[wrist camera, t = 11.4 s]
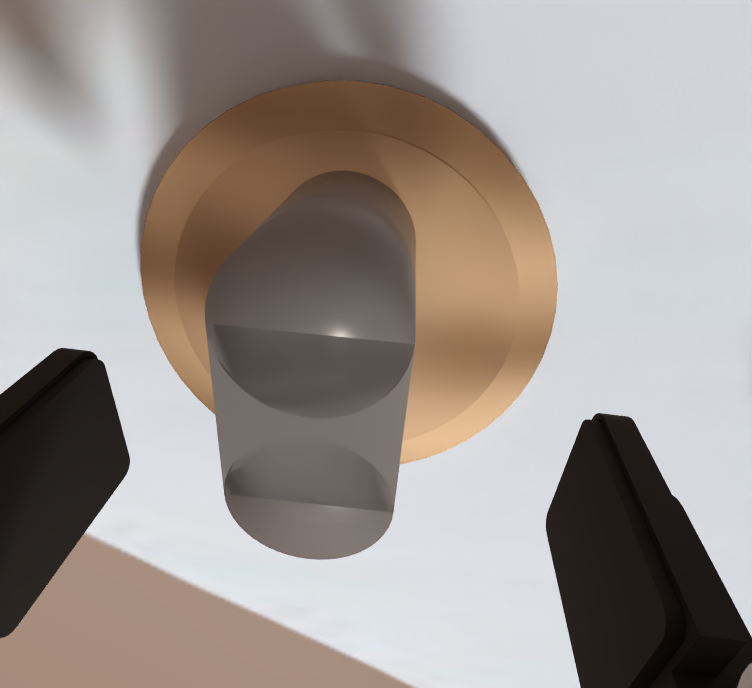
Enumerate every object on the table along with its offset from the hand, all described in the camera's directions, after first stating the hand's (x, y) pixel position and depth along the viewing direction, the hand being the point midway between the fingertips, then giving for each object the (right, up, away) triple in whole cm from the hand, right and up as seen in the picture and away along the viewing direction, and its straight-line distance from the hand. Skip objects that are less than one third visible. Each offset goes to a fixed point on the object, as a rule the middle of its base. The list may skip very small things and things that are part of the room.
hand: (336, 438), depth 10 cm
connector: (0, +2, +7) cm, 8 cm away
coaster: (0, +3, +8) cm, 8 cm away
